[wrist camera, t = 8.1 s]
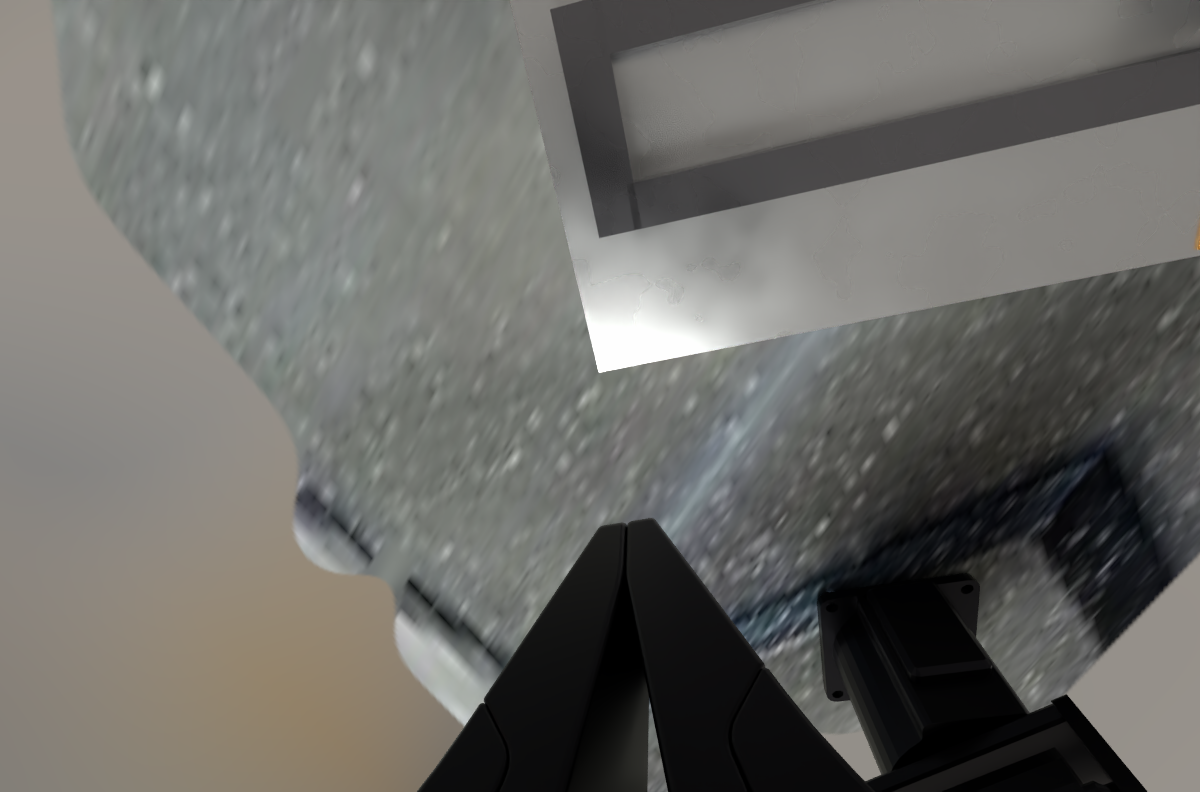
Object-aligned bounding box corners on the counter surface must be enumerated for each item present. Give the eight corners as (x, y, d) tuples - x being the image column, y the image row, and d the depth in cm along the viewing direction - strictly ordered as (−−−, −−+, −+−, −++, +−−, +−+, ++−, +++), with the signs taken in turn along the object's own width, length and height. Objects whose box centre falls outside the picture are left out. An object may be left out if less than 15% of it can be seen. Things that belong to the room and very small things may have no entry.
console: (1361, 199, 17) (1501, 211, 14) (600, 350, 20) (597, 384, 17) (1587, -499, 12) (1887, -695, 9) (482, -153, 14) (450, -220, 12)
